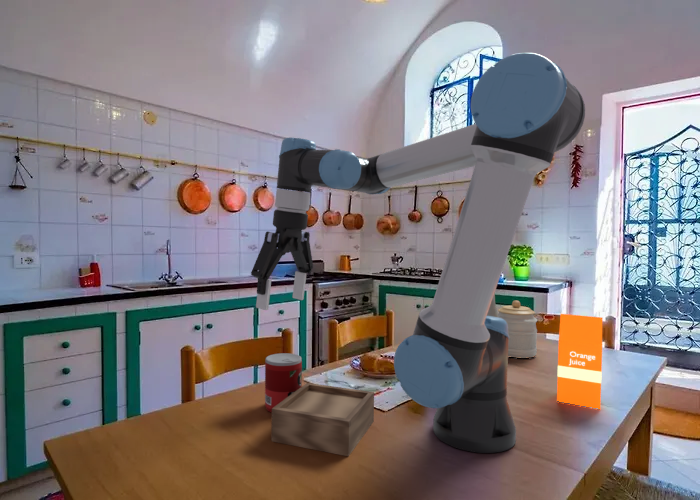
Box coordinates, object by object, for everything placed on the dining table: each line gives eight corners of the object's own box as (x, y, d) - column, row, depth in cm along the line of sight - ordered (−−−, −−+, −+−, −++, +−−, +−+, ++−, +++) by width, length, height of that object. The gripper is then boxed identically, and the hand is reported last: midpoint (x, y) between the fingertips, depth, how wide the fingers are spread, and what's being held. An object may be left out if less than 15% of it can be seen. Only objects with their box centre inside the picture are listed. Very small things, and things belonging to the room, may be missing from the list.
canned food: (294, 416, 89) (295, 364, 89) (258, 412, 91) (259, 361, 90) (305, 402, 97) (306, 354, 96) (272, 399, 98) (273, 352, 98)
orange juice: (559, 392, 106) (561, 311, 105) (600, 399, 101) (603, 315, 101) (556, 402, 99) (558, 316, 98) (600, 410, 94) (603, 320, 94)
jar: (490, 348, 147) (492, 297, 147) (530, 349, 146) (531, 298, 145) (498, 358, 135) (499, 302, 134) (541, 360, 133) (543, 304, 132)
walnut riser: (373, 421, 87) (374, 392, 87) (348, 456, 73) (349, 421, 73) (306, 410, 92) (307, 382, 92) (271, 441, 78) (271, 408, 78)
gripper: (307, 209, 107) (298, 292, 110) (239, 206, 85) (229, 309, 88) (333, 213, 104) (323, 298, 107) (270, 210, 82) (258, 318, 84)
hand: (281, 303), depth 97 cm, fingers open, 13 cm apart
